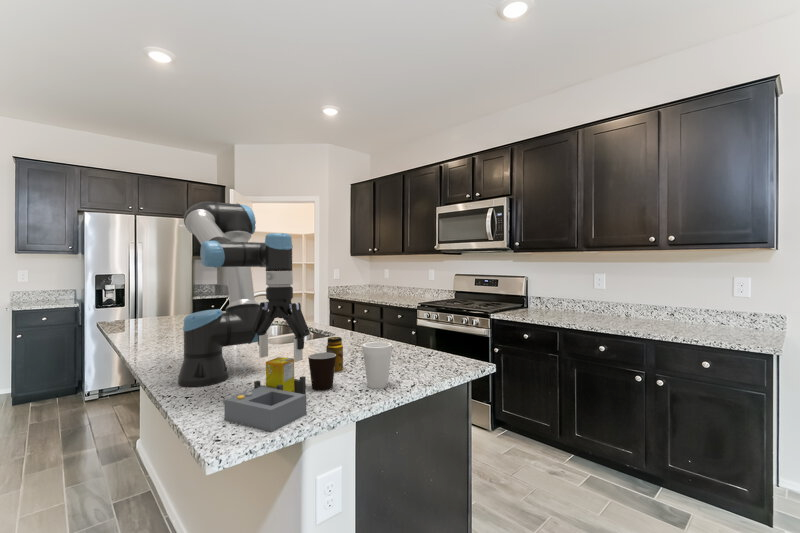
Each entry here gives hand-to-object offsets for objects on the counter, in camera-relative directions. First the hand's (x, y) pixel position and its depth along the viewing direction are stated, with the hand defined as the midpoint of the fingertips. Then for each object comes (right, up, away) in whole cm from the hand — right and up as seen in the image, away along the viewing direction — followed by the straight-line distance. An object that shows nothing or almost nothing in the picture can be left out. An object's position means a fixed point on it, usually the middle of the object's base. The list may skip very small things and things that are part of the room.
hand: (280, 358), depth 114 cm
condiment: (+10, -11, +29) cm, 33 cm away
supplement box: (0, -12, 0) cm, 11 cm away
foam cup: (+28, -11, +11) cm, 32 cm away
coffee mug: (+11, -11, +10) cm, 19 cm away
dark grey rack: (0, -11, 0) cm, 11 cm away
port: (+1, -11, -15) cm, 19 cm away
